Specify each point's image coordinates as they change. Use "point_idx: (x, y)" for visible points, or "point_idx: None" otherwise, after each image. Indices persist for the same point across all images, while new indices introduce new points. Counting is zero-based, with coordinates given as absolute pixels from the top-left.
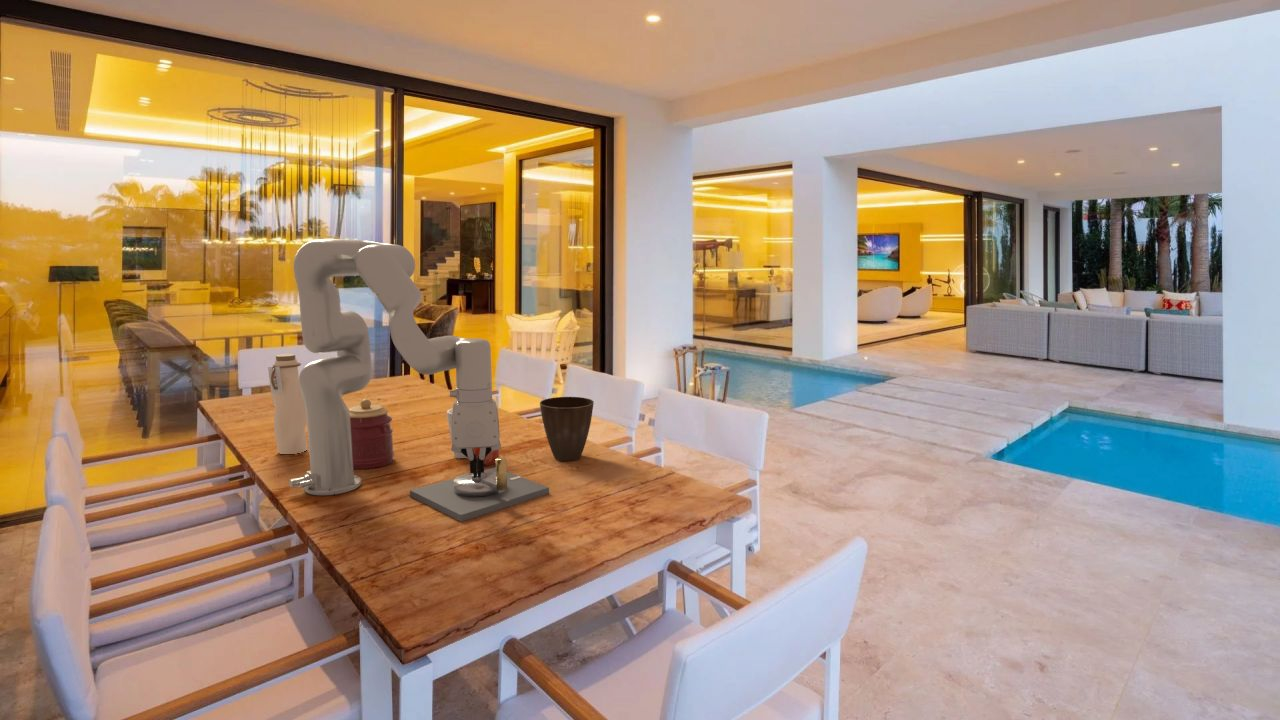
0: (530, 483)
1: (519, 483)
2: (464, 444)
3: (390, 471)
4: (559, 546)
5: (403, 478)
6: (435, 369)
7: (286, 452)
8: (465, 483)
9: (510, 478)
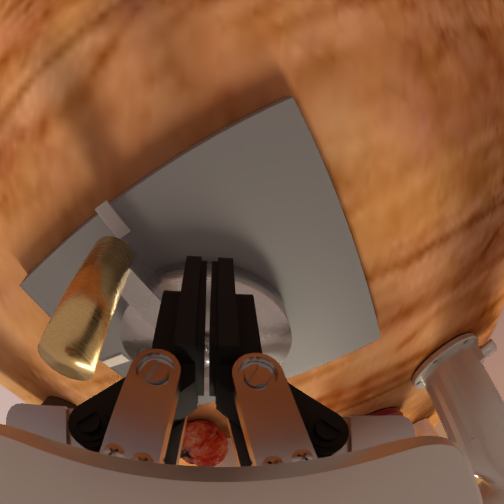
0: None
1: None
2: (379, 496)
3: (359, 407)
4: None
5: (352, 391)
6: None
7: (425, 420)
8: None
9: (128, 363)
